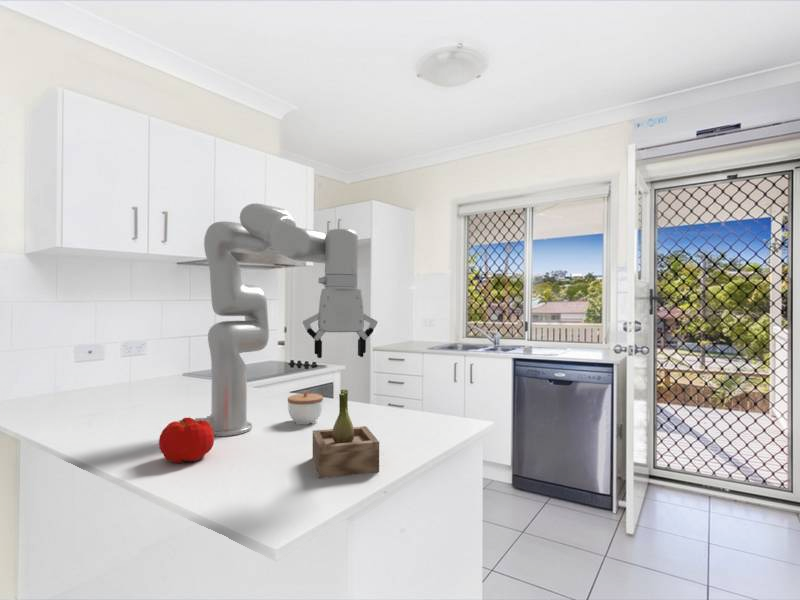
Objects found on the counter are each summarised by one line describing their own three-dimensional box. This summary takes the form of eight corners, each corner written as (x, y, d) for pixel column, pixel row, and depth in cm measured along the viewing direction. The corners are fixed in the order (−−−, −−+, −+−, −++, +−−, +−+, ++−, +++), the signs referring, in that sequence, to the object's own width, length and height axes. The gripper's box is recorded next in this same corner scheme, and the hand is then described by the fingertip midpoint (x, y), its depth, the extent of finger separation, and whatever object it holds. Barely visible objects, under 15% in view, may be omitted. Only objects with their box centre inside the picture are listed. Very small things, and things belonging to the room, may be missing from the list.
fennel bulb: (344, 447, 98) (344, 393, 98) (326, 444, 101) (326, 391, 101) (358, 440, 104) (358, 388, 104) (341, 437, 106) (341, 387, 106)
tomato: (211, 463, 102) (211, 424, 103) (153, 469, 99) (153, 428, 99) (216, 449, 113) (216, 413, 113) (163, 453, 109) (164, 416, 109)
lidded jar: (326, 424, 136) (326, 393, 136) (290, 428, 132) (290, 396, 132) (319, 416, 146) (319, 387, 146) (285, 419, 142) (285, 389, 142)
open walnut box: (319, 478, 94) (319, 447, 94) (312, 457, 106) (312, 430, 106) (379, 471, 98) (379, 441, 98) (365, 452, 110) (365, 426, 110)
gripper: (304, 281, 97) (303, 360, 97) (381, 283, 103) (380, 357, 103) (301, 282, 105) (300, 355, 105) (373, 284, 110) (372, 354, 110)
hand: (340, 356), depth 104 cm, fingers open, 9 cm apart
